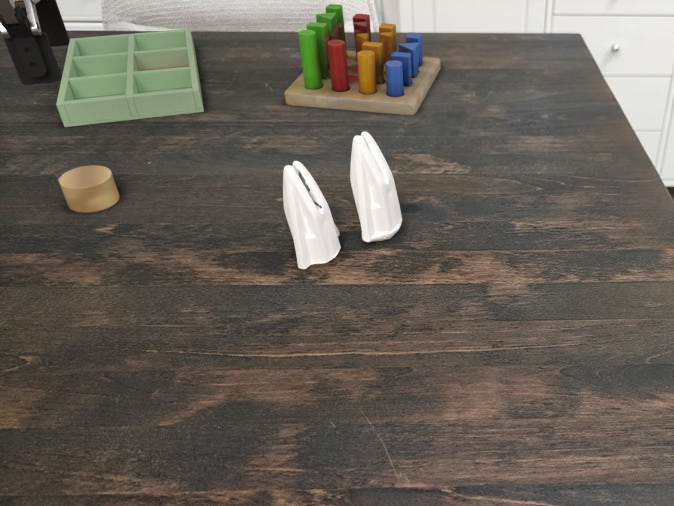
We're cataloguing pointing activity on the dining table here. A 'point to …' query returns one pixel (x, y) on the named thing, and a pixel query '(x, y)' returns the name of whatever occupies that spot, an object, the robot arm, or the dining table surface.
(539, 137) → the dining table surface
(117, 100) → the grid
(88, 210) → the token
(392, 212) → the shaker set
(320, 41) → the peg board
